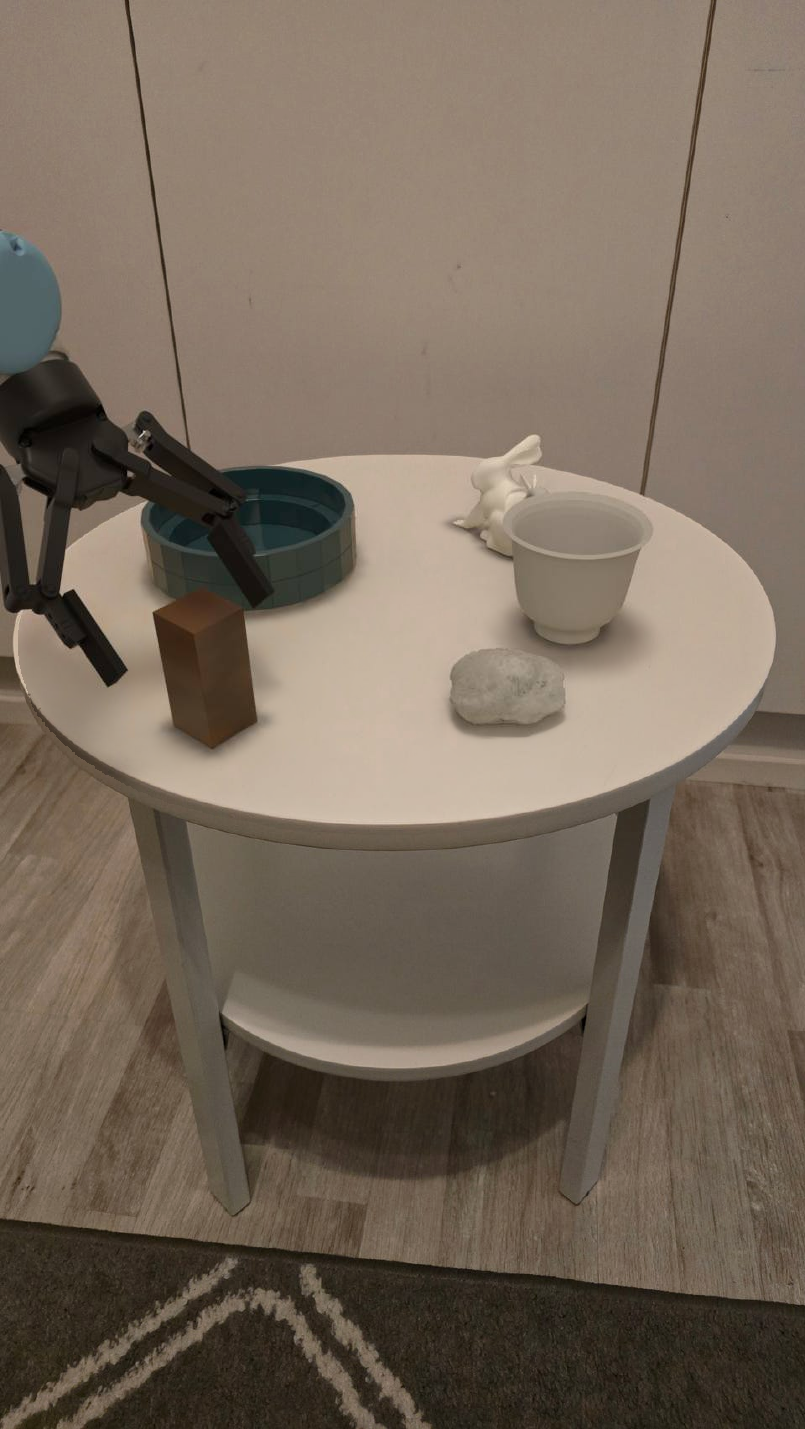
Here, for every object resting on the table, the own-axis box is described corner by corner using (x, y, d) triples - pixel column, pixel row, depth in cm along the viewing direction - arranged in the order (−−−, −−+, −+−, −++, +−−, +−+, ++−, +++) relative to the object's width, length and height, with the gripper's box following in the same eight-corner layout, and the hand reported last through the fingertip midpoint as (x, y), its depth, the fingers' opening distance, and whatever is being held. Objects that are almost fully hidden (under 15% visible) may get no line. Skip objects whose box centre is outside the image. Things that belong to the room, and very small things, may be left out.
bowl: (146, 626, 86) (135, 565, 82) (155, 528, 102) (145, 473, 98) (368, 606, 88) (366, 546, 85) (344, 513, 104) (341, 459, 100)
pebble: (503, 666, 81) (506, 613, 78) (580, 708, 76) (587, 654, 73) (427, 708, 76) (427, 654, 73) (504, 757, 71) (508, 701, 68)
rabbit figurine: (451, 523, 102) (453, 432, 96) (512, 507, 105) (517, 418, 99) (515, 571, 93) (522, 475, 88) (580, 553, 96) (590, 459, 90)
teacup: (583, 570, 94) (594, 470, 88) (663, 650, 82) (682, 542, 76) (464, 590, 91) (467, 488, 85) (531, 677, 79) (540, 566, 73)
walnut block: (212, 749, 72) (193, 633, 66) (173, 725, 75) (151, 611, 69) (257, 721, 75) (243, 607, 69) (218, 698, 77) (201, 587, 71)
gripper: (151, 372, 80) (295, 590, 82) (-150, 468, 65) (32, 734, 67) (184, 315, 74) (338, 552, 76) (-139, 406, 59) (60, 700, 61)
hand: (195, 638), depth 71 cm, fingers open, 13 cm apart
